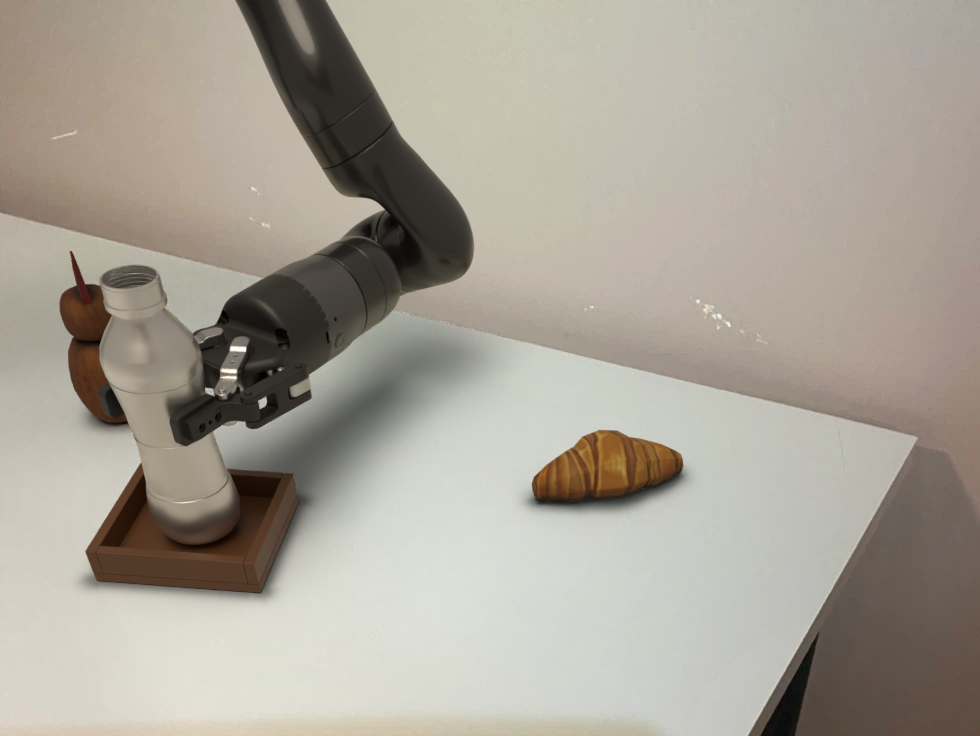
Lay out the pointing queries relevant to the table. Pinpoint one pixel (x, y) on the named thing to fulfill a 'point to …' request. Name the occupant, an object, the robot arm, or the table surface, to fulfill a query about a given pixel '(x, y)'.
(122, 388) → the silver bottle
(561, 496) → the croissant
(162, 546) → the tray
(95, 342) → the wooden figurine
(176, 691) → the table surface
